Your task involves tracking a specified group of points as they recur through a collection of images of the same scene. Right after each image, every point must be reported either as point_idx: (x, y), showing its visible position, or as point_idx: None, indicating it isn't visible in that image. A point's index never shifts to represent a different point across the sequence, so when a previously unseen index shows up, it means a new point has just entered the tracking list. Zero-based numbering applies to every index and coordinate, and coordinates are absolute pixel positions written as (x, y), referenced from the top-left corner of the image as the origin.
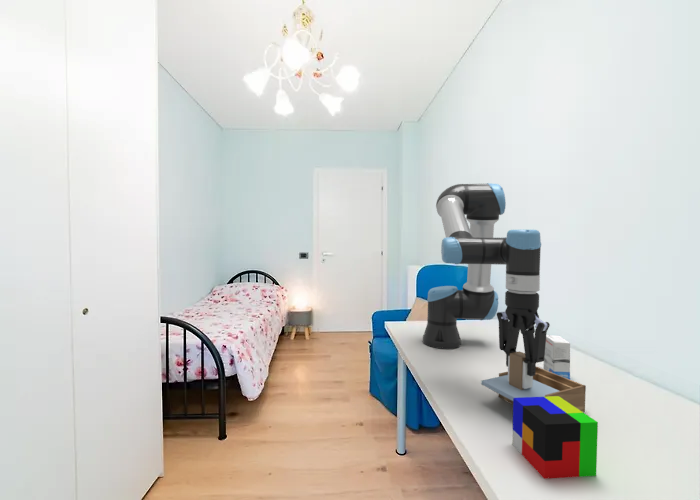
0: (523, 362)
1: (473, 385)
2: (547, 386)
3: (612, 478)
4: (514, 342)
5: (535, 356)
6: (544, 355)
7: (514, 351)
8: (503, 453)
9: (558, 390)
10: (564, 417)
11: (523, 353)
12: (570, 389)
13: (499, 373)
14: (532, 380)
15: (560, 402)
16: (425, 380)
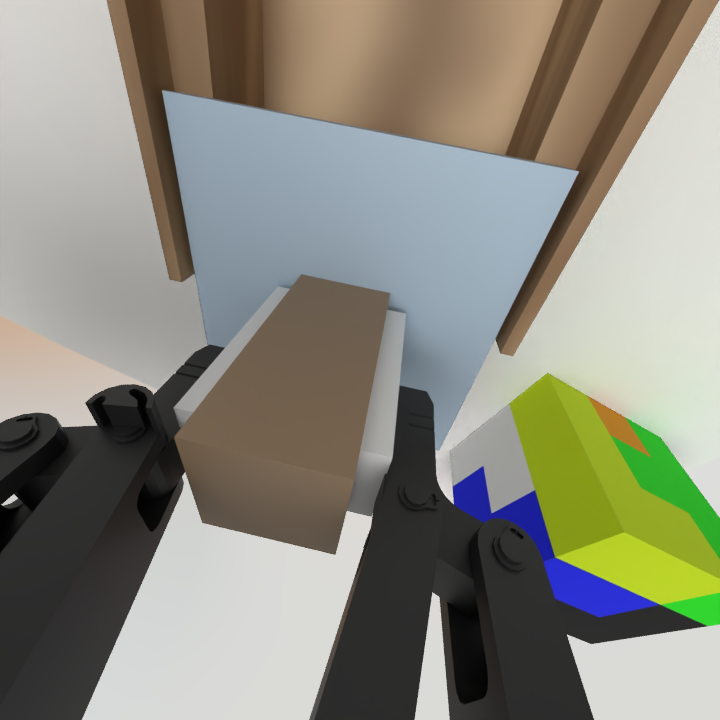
0: (353, 506)
1: (110, 221)
2: (461, 170)
3: (707, 424)
4: (92, 623)
5: (474, 646)
6: (564, 631)
7: (157, 458)
8: (450, 481)
9: (553, 168)
10: (649, 620)
11: (251, 467)
12: (673, 74)
13: (173, 279)
14: (403, 340)
15: (635, 566)
16: (57, 341)
